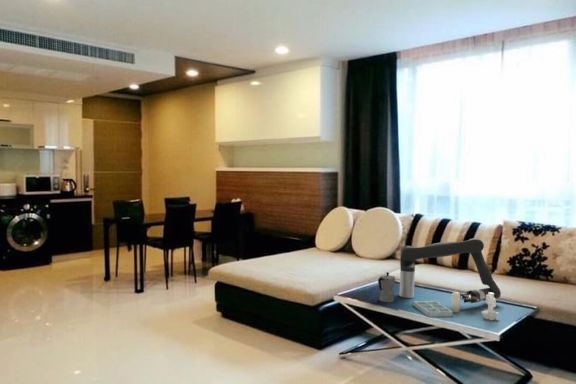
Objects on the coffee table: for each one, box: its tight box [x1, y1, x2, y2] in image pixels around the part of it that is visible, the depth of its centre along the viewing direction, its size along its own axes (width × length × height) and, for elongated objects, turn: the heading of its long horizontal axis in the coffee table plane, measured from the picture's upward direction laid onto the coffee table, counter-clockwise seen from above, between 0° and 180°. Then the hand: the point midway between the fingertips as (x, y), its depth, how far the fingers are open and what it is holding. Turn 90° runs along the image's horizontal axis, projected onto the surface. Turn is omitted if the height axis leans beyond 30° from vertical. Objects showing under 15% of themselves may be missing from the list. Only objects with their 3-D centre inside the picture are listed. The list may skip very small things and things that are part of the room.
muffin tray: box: [412, 300, 454, 318], centre depth 273 cm, size 22×15×3 cm
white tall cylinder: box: [450, 291, 461, 313], centre depth 273 cm, size 5×5×12 cm
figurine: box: [480, 292, 500, 321], centre depth 260 cm, size 7×9×15 cm
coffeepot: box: [377, 271, 396, 303], centre depth 291 cm, size 15×9×18 cm, turn 129°
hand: (458, 298), depth 274 cm, fingers open, 8 cm apart
